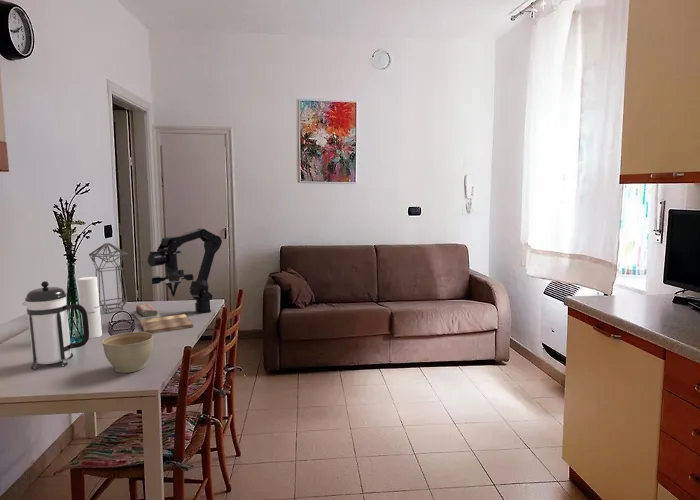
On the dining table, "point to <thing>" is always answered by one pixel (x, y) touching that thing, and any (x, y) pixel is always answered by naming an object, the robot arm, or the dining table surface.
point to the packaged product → (145, 312)
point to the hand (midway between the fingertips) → (173, 296)
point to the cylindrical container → (91, 304)
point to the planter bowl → (128, 350)
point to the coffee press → (51, 325)
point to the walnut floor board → (167, 325)
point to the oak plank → (162, 318)
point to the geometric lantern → (109, 270)
